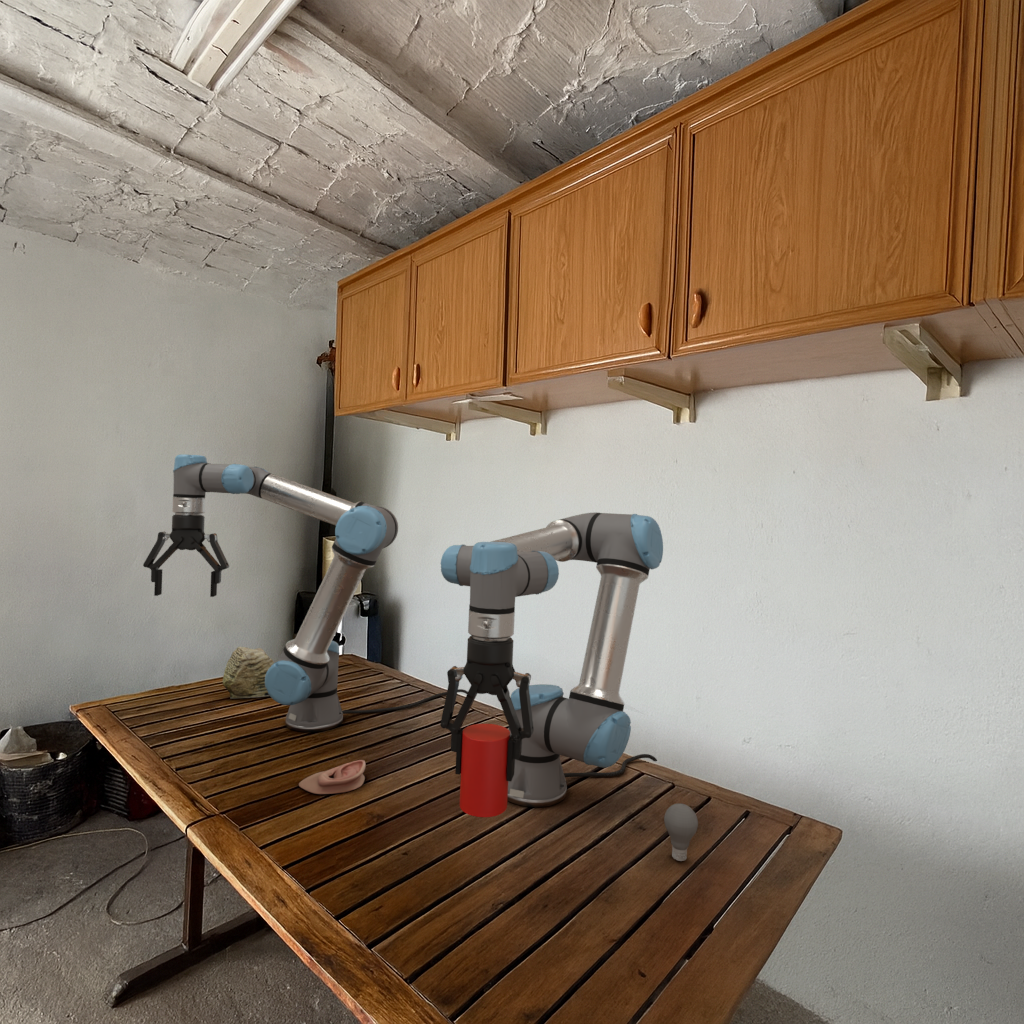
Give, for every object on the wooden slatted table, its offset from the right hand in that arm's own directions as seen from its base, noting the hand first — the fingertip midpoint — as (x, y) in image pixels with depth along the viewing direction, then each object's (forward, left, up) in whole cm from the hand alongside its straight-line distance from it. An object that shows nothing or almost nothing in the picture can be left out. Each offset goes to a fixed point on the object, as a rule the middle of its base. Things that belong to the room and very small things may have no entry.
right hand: (484, 774), depth 104 cm
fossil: (+33, -116, -19) cm, 122 cm away
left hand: (+51, -88, +17) cm, 103 cm away
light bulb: (-37, +4, -19) cm, 42 cm away
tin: (0, 0, -5) cm, 5 cm away
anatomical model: (+18, -46, -19) cm, 53 cm away
